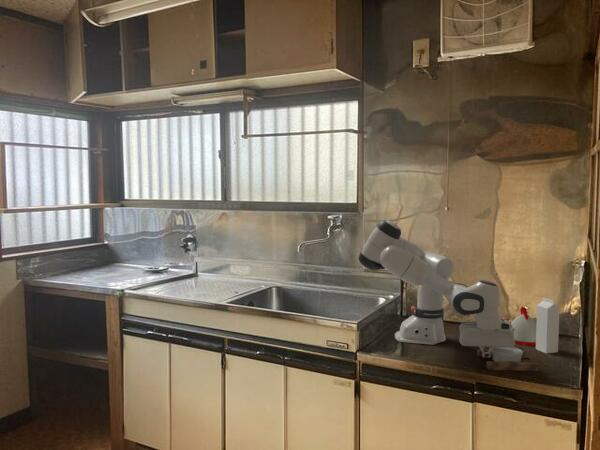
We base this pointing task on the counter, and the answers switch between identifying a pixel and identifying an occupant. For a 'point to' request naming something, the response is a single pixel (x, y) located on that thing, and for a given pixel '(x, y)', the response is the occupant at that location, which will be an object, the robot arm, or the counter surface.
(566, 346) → the counter surface
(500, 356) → the ramekin
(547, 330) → the milk
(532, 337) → the kitchen timer
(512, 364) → the parallel wooden rails
